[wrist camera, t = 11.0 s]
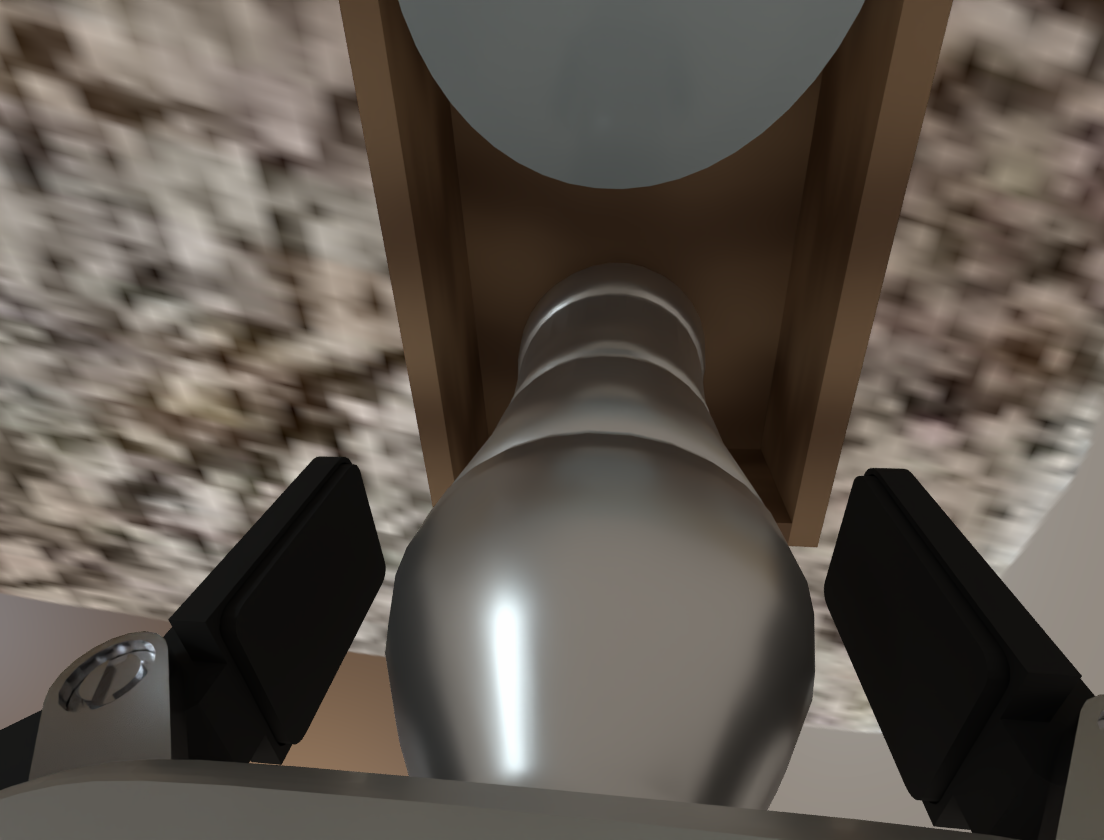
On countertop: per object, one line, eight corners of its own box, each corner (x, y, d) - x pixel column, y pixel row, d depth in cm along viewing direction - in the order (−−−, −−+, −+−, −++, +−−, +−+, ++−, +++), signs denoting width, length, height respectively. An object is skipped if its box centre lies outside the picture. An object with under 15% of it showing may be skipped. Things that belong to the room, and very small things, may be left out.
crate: (392, -194, 15) (271, -365, 10) (907, -267, 14) (1081, -521, 8) (475, 448, 26) (436, 528, 20) (775, 457, 24) (817, 547, 19)
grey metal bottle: (499, 341, 22) (-18, 1152, 4) (611, 209, 19) (402, 1078, 1) (613, 435, 23) (565, 1333, 6) (733, 326, 20) (1376, 1480, 3)
